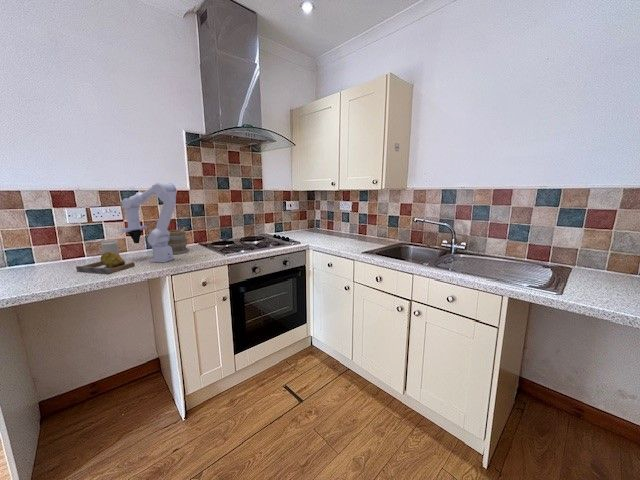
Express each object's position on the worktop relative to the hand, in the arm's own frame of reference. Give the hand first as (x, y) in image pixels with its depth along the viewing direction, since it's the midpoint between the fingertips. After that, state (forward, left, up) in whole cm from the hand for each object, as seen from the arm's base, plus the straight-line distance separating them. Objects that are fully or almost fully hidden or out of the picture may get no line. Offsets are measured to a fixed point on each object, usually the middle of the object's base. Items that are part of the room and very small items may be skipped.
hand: (136, 243), depth 153 cm
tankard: (-10, -22, -10) cm, 26 cm away
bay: (-1, +20, -9) cm, 22 cm away
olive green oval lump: (-3, +17, -10) cm, 20 cm away
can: (+12, +6, -10) cm, 17 cm away
